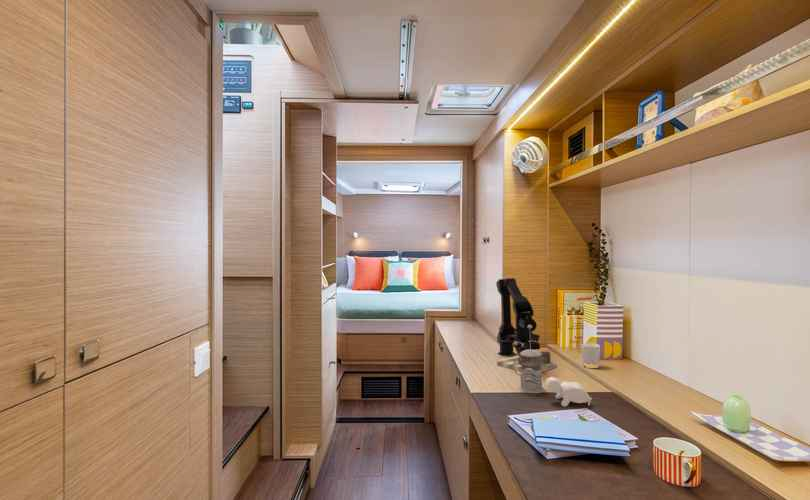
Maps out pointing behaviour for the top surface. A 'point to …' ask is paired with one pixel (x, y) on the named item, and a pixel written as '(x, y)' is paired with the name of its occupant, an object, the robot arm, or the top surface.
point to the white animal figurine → (568, 391)
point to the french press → (530, 372)
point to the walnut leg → (528, 359)
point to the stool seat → (509, 364)
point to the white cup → (590, 353)
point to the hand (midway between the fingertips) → (522, 360)
